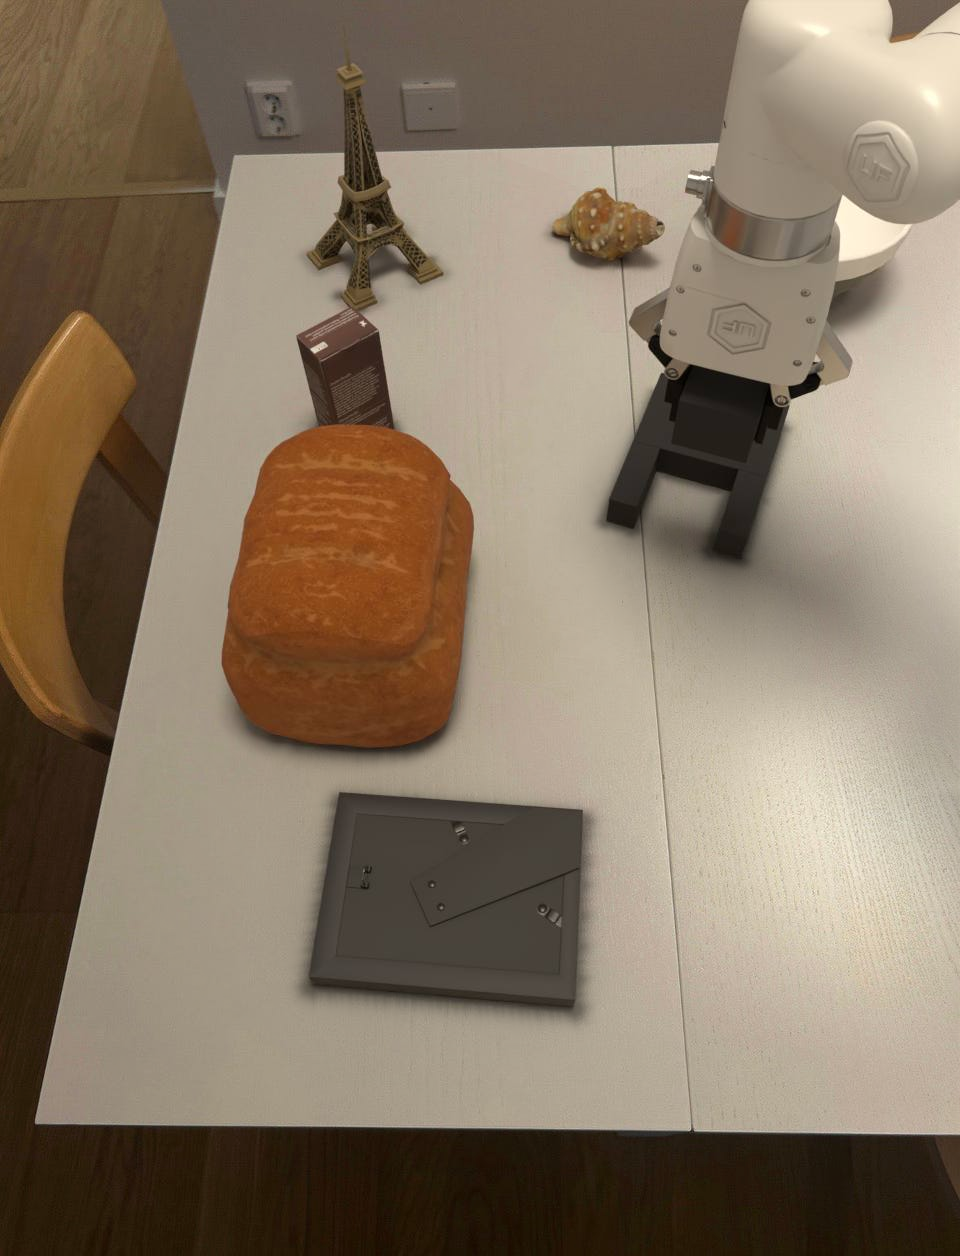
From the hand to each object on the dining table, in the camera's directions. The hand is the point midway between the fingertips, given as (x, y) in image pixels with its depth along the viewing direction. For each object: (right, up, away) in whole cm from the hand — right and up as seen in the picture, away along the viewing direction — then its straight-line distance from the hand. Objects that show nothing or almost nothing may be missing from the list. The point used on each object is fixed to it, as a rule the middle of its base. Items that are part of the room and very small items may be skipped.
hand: (720, 417), depth 78 cm
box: (-29, +3, +21) cm, 36 cm away
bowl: (+14, +21, +31) cm, 40 cm away
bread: (-27, -16, +9) cm, 33 cm away
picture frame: (-20, -35, -3) cm, 40 cm away
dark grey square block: (0, 0, 0) cm, 1 cm away
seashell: (-4, +25, +34) cm, 43 cm away
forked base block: (+2, -2, +17) cm, 17 cm away
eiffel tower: (-29, +23, +33) cm, 50 cm away
